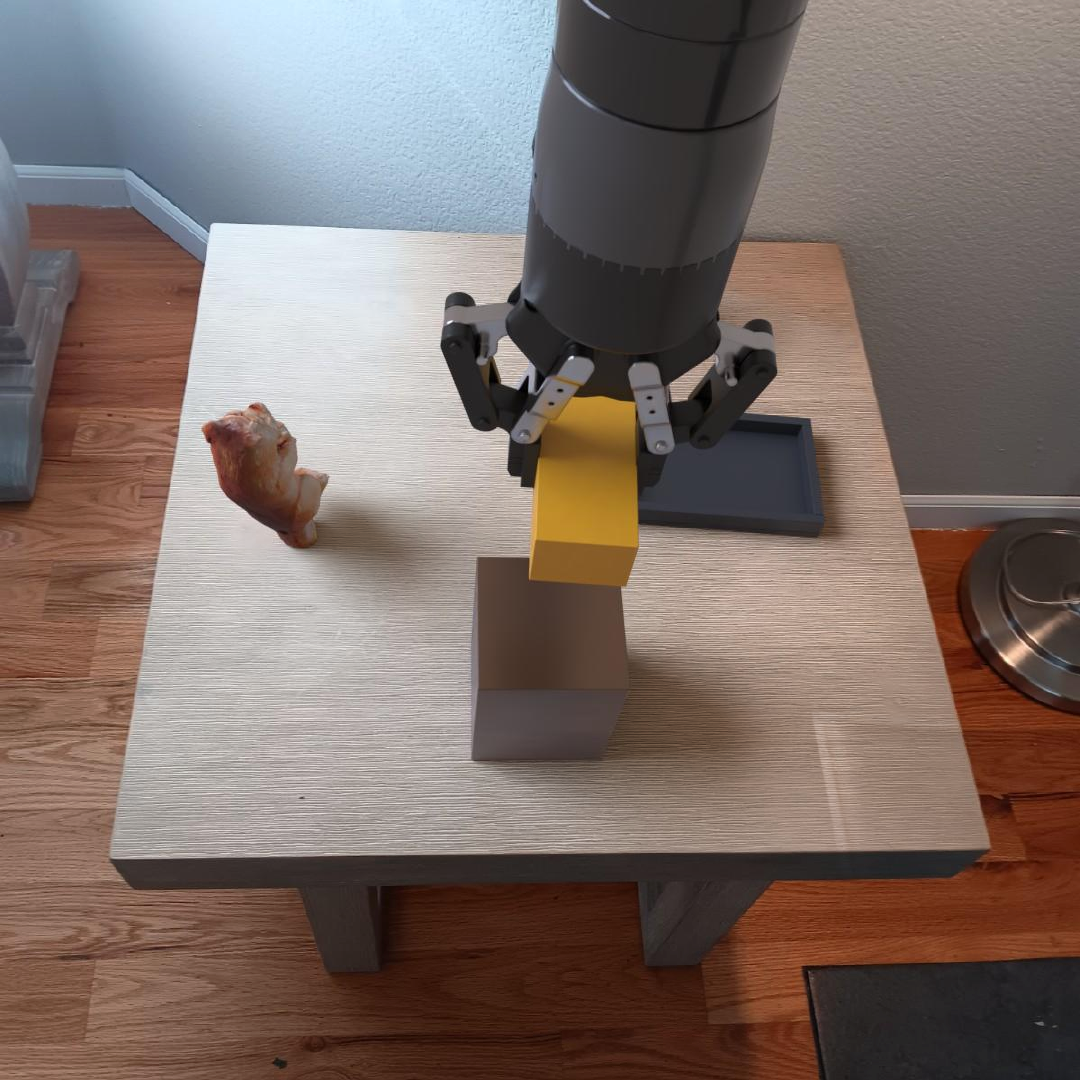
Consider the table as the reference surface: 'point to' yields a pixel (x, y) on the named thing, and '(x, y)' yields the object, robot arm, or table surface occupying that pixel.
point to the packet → (586, 495)
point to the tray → (742, 481)
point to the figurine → (266, 473)
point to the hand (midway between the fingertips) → (581, 476)
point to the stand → (544, 665)
